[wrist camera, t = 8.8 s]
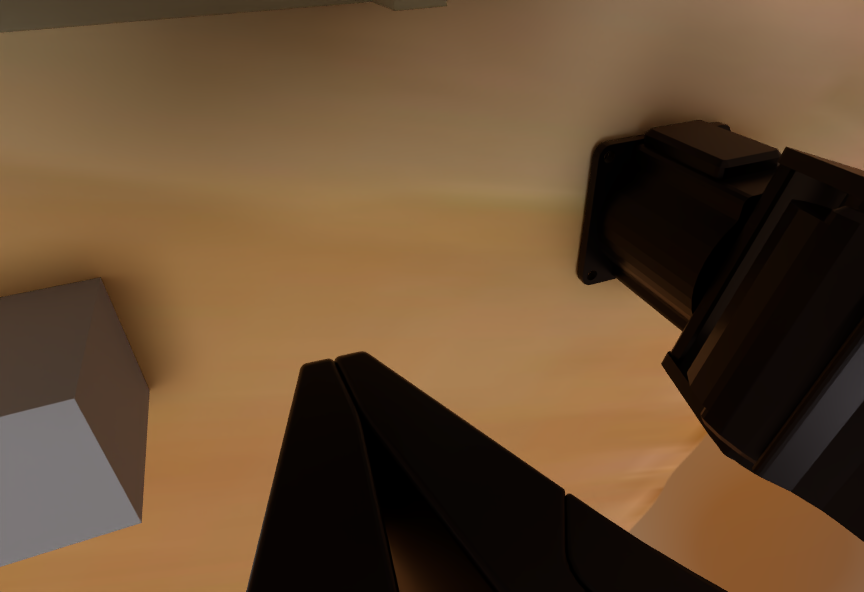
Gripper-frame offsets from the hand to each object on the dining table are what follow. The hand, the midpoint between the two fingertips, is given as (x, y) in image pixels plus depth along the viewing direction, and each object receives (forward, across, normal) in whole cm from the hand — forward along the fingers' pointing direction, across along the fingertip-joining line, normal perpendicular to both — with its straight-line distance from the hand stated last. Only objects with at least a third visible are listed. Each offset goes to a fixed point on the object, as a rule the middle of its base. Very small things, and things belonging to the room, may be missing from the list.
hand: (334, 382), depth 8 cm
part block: (+13, +7, +7) cm, 16 cm away
